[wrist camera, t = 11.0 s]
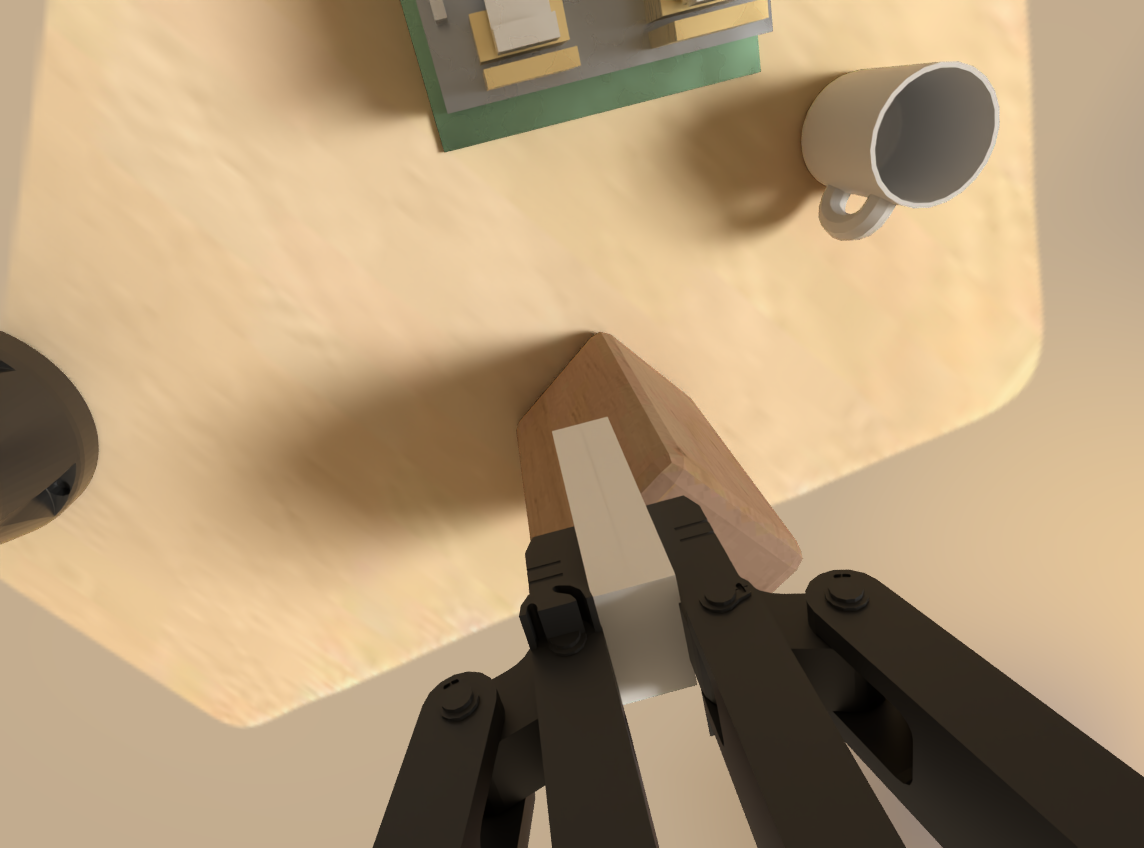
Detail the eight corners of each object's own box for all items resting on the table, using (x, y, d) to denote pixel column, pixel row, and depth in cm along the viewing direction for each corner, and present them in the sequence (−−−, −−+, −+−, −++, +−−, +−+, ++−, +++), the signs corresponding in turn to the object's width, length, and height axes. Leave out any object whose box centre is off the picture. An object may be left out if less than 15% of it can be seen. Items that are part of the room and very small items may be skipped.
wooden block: (597, 322, 47) (674, 455, 29) (696, 400, 51) (818, 562, 33) (510, 425, 49) (530, 607, 32) (610, 493, 53) (678, 690, 35)
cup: (924, 96, 43) (1026, 94, 35) (847, 245, 47) (923, 273, 39) (832, 50, 41) (917, 36, 33) (759, 208, 45) (820, 230, 37)
